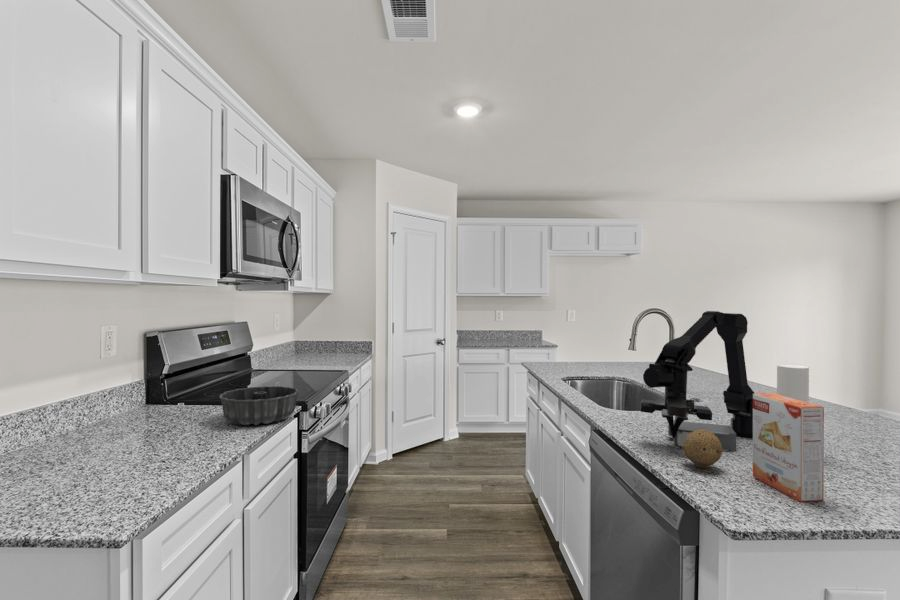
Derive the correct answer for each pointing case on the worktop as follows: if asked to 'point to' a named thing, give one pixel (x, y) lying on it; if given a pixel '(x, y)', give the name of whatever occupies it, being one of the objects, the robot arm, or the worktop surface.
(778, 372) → the cylindrical container
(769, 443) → the cracker box
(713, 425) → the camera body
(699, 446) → the potato
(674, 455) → the worktop surface
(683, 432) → the side cover
